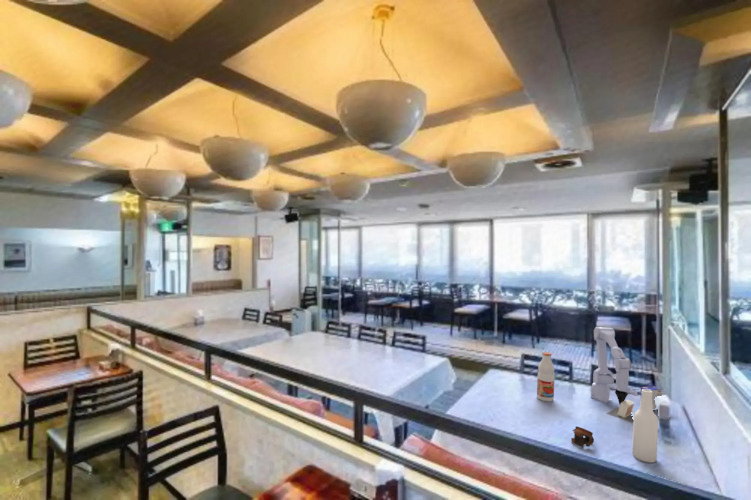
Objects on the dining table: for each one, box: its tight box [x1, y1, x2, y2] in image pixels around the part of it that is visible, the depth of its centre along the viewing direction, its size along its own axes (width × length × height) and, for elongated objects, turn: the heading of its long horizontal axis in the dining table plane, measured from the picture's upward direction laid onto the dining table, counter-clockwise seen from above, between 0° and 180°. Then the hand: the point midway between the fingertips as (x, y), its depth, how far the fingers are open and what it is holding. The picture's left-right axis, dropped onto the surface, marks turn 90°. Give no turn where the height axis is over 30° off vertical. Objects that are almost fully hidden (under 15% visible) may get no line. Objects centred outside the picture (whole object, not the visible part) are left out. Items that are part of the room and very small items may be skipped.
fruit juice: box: [536, 351, 555, 403], centre depth 230 cm, size 9×9×28 cm
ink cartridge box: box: [640, 382, 663, 409], centre depth 220 cm, size 10×6×14 cm, turn 102°
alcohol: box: [631, 389, 659, 464], centre depth 167 cm, size 9×9×30 cm
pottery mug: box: [571, 426, 595, 448], centre depth 177 cm, size 12×10×8 cm
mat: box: [606, 406, 634, 424], centre depth 210 cm, size 14×16×1 cm
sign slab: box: [618, 399, 635, 418], centre depth 209 cm, size 4×9×7 cm, turn 126°
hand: (621, 404), depth 211 cm, fingers closed
